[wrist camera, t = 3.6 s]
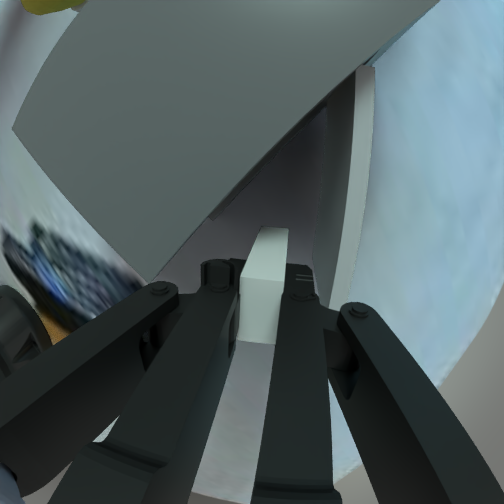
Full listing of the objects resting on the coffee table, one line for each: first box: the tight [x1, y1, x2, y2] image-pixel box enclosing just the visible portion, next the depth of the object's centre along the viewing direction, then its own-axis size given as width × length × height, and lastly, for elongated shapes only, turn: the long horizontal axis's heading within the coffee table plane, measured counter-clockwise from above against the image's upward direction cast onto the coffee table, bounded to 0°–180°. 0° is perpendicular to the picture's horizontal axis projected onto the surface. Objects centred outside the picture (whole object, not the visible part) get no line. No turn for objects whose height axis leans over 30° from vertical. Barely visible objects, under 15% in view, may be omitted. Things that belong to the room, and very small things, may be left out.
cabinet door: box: [312, 65, 375, 311], centre depth 15 cm, size 12×1×9 cm, turn 176°
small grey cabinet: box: [12, 0, 440, 284], centre depth 13 cm, size 20×12×13 cm, turn 136°
